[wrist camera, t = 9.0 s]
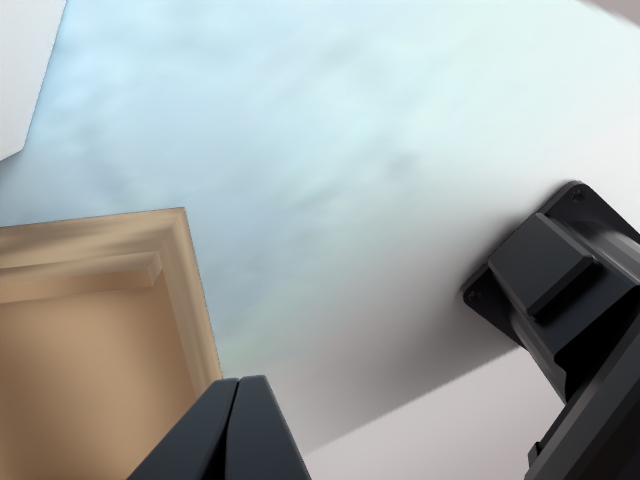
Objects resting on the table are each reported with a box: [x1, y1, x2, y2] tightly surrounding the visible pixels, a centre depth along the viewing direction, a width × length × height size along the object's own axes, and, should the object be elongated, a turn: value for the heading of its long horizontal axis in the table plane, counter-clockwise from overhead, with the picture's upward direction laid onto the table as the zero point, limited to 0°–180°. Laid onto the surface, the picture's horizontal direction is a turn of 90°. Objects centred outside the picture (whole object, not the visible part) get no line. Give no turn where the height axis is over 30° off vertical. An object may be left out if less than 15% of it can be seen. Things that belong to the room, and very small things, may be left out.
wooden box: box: [0, 207, 223, 480], centre depth 19 cm, size 13×10×5 cm
